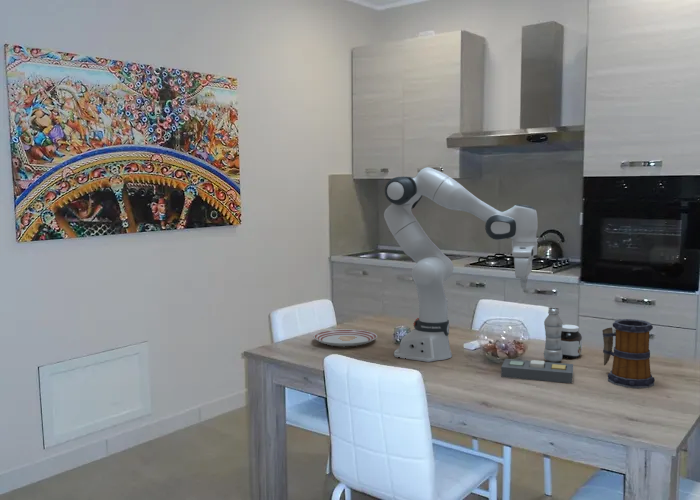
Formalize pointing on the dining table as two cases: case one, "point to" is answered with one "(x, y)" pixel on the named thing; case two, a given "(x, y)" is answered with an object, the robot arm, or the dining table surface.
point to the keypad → (537, 372)
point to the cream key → (537, 364)
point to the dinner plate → (333, 335)
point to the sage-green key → (516, 363)
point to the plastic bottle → (553, 336)
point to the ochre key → (559, 367)
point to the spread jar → (571, 341)
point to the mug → (629, 353)
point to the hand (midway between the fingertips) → (523, 287)
